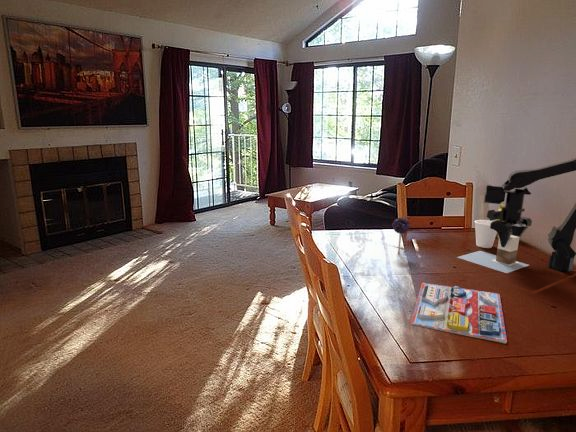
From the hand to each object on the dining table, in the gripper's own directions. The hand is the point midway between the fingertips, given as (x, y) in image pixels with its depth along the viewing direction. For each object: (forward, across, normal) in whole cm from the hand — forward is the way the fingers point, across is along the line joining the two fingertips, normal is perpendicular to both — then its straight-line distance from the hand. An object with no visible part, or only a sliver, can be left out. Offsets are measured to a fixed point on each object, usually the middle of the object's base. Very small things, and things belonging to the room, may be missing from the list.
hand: (508, 245), depth 157 cm
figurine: (+7, -34, -20) cm, 41 cm away
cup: (+7, -12, -16) cm, 21 cm away
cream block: (+1, 0, 0) cm, 1 cm away
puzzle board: (+8, +51, +14) cm, 54 cm away
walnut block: (+6, 0, 0) cm, 6 cm away
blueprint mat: (+7, +4, -3) cm, 9 cm away
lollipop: (+7, +27, -29) cm, 40 cm away
